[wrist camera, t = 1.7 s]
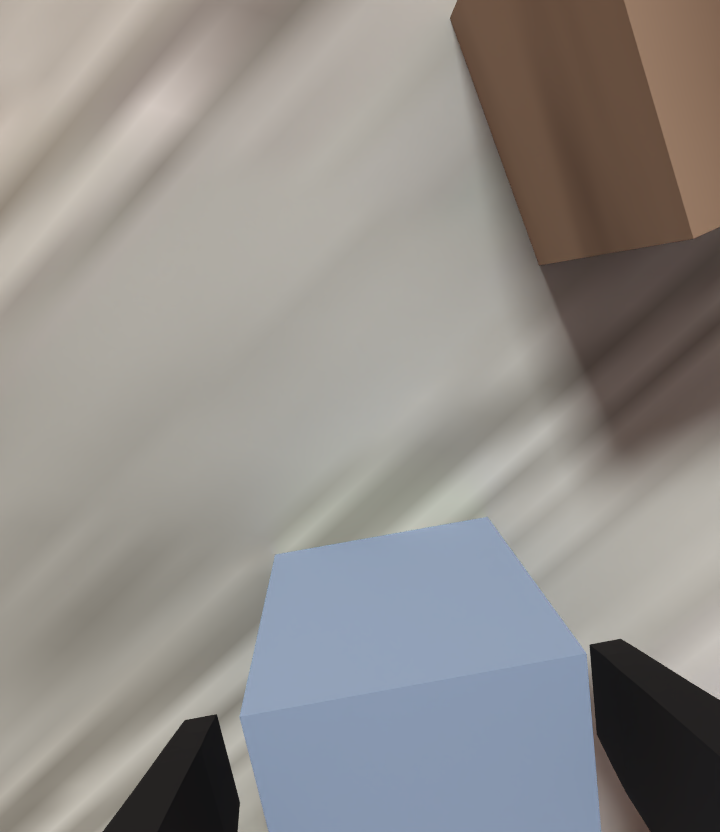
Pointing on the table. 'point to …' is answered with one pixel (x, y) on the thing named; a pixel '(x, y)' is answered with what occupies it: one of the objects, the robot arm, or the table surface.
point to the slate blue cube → (418, 691)
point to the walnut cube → (601, 117)
